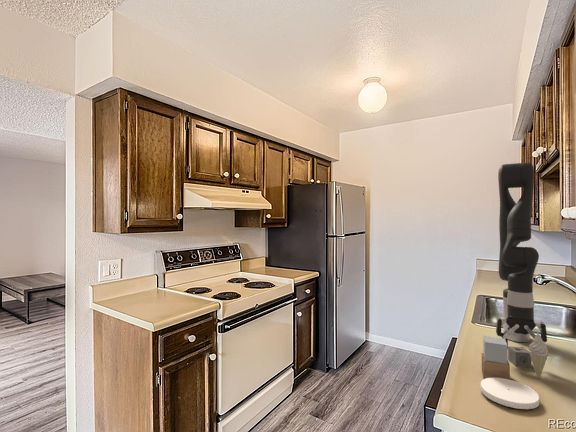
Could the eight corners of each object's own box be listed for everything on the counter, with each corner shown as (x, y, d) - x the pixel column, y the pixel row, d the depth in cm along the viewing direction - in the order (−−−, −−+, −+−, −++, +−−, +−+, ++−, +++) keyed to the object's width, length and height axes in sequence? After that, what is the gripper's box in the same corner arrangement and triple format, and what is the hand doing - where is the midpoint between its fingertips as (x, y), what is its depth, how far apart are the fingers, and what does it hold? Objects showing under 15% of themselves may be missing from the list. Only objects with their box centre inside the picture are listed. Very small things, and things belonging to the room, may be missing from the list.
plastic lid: (482, 381, 103) (482, 373, 103) (538, 394, 95) (537, 386, 95) (478, 402, 92) (478, 393, 92) (541, 419, 84) (540, 409, 84)
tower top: (483, 353, 109) (483, 335, 109) (504, 356, 106) (504, 338, 106) (485, 360, 104) (484, 341, 104) (507, 364, 101) (507, 345, 101)
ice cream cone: (547, 377, 104) (546, 330, 104) (550, 384, 100) (549, 335, 100) (527, 373, 107) (527, 327, 107) (529, 380, 103) (529, 332, 103)
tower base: (481, 370, 110) (481, 352, 110) (506, 374, 107) (506, 356, 107) (483, 379, 103) (483, 361, 103) (509, 384, 100) (509, 365, 100)
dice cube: (508, 360, 117) (508, 346, 117) (523, 361, 116) (523, 347, 116) (515, 366, 112) (515, 352, 112) (531, 367, 111) (531, 352, 111)
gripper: (542, 303, 114) (543, 350, 113) (494, 299, 120) (495, 343, 120) (548, 309, 107) (549, 358, 107) (497, 304, 113) (498, 351, 113)
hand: (520, 350), depth 113 cm, fingers open, 8 cm apart
